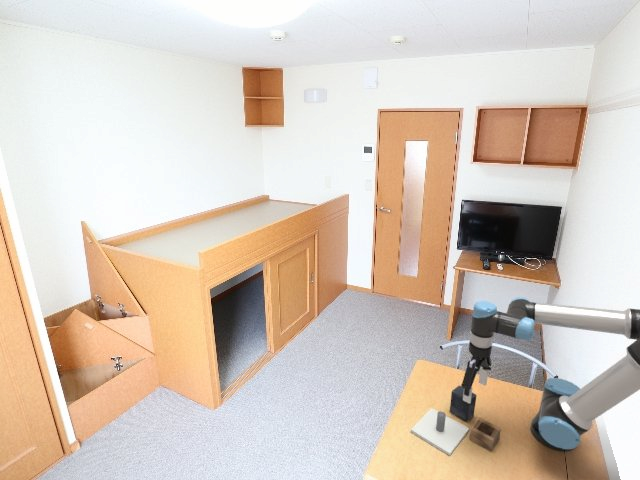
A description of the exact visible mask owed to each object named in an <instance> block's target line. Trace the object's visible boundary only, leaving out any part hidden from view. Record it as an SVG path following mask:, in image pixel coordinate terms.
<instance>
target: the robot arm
mask: <svg viewBox="0 0 640 480" xmlns="http://www.w3.org/2000/svg"><path fill="white" fill-rule="evenodd" d="M536 324H537V325H543V326H544V325H545V326H551V327H561V328H569V329H576V330H585V331H592V332H599V333H600V332H601V333H608V334H614V335H622V336H624V337H626V338H627V340H635V341H633V342H632V343H631V344H629V346H626V348H625V349H626V355H625V356H624V357H622V358H621V359H619V360H618V361H617V362H616V363H614V364H612V365H611V366H610V367H609V368H607V369H606V370H604V371H603V372H602V373H600V374H598V376H596V377H594V378H593V379H592V380H591V381H590V382H588V383H586V385H584V386H582V387H581V388H580V387H579V386H578V385H577V384H575V383H573V382H572V381H569V380H567V379H563V378H558V377H551V378H548V379H546V380H545V381H544V382H545V383H544V385H543V391H542V396H541V399H540V400H541V401H540V405H539V409H538V412H537V413H536V415H535V416H534V417H533V418H532V419H531V422H530V426H529V427H530V428H529V429H530V432H531V434H532V435H533V437H534V439H536V440H537V442H539V443H540V444H542V445H543V446H546V447H548V448H549V449H552V450H555V451H560V452H569V451H572V450H573V449H575V448H577V447H578V446H579V445H580V442H581V436H583V435H584V434H586V432H588V431H590V430H591V429H592V428H593V421H594V420H596V419H597V418H599V417H600V416H601V415H603V414H605V413H606V412H607V411H610V410H611V409H613V408H614V407H616V406H617V405H618V404H621V403H622V402H623V401H625V400H626V399H628V398H629V397H630V396H632V395H634V394H636V392H638V391H640V309H637V308H627V309H625V310H617V309H616V310H614V309H604V308H596V307H595V308H594V307H587V306H586V307H584V306H573V305H564V304H552V303H544V302H543V303H542V302H534V301H530V300H529V299H527V298H526V297H523V296H522V297H521V296H519V297H518V296H517V297H515V298H513V299H512V300H511V301H510V303H509V304H508V307H507V311H506V312H501V311H499V310H498V309H497V306H496V304H495V303H493V302H490V301H485V300H482V301H481V300H480V301H478V302H475V304H473V309H472V314H471V325H470V326H471V327H470V331H469V335H470V336H469V343H468V352H469V353H470V354H471V358H470V360H468V361H467V365H466V369H465V372H464V376H463V379H462V383H461V385H460V386H461V387H462V388H464V393H463V401H465V402H467V403H469V404H470V403H471V396H472V393H473V387H472V386H473V384H474V381H475V379H476V376H477V373H478V372H479V376H478V377H479V378H478V384H480V385H481V386H482V385H483V386H484V387H486V386H487V385H488V384H487V382H488V375H489V371H491V370H492V367H491V366H492V359H491V354H492V348H493V347H492V346H493V342H494V341H493V340H494V334H499V335H502V336H506V337H509V338H514V339H517V340H522V341H531V340H533V336H534V331H535V325H536Z"/></svg>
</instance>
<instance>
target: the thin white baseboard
mask: <svg viewBox="0 0 640 480" xmlns="http://www.w3.org/2000/svg"><path fill="white" fill-rule="evenodd" d="M469 431H470V428H469V427H467V426H465V425H464V424H462V423H460V422H458V421H456V420H454V419H452V418H451V417H449V416H447V414H446V413H445V412H444V411H441V410H440V411H438V410H437V409H434V408H432V407H431V408H429V410H428V411H427V412H426V413H425V414H424V415H423V416H422V417H421V418H420V419H419V420H418V421H417V422H416V424H415V425H413V426H412V428H411V429H410V433H411V434H413V435H414V436H416V437H417V438H419V439H421V440H423V441H424V442H425V443H428V444H429V445H430V446H433V447H435V448H436V449H438V450H439V451H441V452H442V453H444V454H446V455H447V456H449V457H450V456H451V455H452V454H453V452H454V451H456V449H457V447H458V445H460V444H461V442H462V441H463V440H464V438H465V437H466V435H467V434H468V432H469Z"/></svg>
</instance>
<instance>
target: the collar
mask: <svg viewBox="0 0 640 480" xmlns="http://www.w3.org/2000/svg"><path fill="white" fill-rule="evenodd" d="M501 430H502V428H501V427H499V426H497V425H495V424H493V423H491V422H489V421H487V420H485V419H484V418H481V417H479V418H478V419H477V420H476V422H475V423H474V424H473V426H472V427H471V429H470V435H469V441H470V442H473V443H474V444H476V445H477V446H480V447H481V448H483V449H485V450H487V451H488V452H491V453H492V451H493V449H494V448H495V447H496V445H497V444H498V442H499V440H500V437H501Z"/></svg>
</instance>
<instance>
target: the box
mask: <svg viewBox="0 0 640 480" xmlns="http://www.w3.org/2000/svg"><path fill="white" fill-rule="evenodd" d="M463 393H464V388H462V387H461V385H457V386H456V387H455V388H454V389H452V390H451V395H450V405H449V413H451V414H453V415H454V416H455V417H457V418H459V419H460V420H462V421H464V422H465V423H468V422H469V421H470V420H471V419H472V418H474V416H475V410H476V402H477V396H478V395H477V394H476V393H474V392H472V396H471V403H470V404H469V403H467V402H465V401H463Z"/></svg>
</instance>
